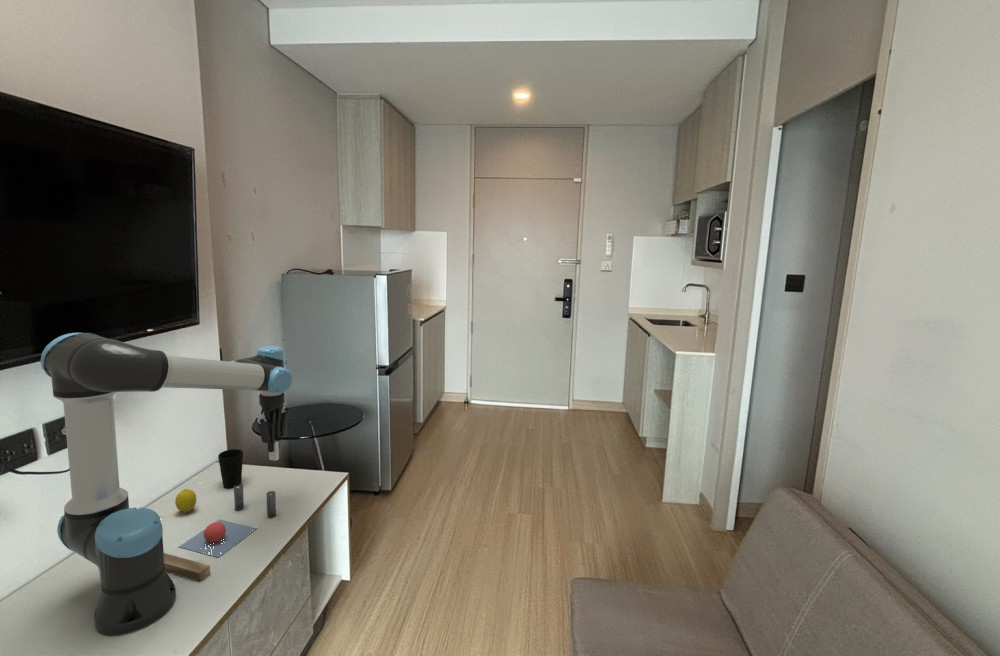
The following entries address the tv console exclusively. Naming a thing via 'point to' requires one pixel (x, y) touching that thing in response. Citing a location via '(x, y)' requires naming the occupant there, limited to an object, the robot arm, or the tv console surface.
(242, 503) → the post left
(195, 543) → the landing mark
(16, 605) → the tv console surface
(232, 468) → the cup
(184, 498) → the lemon
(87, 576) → the tv console surface
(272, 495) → the post right
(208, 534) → the ball
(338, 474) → the tv console surface
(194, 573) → the wall
